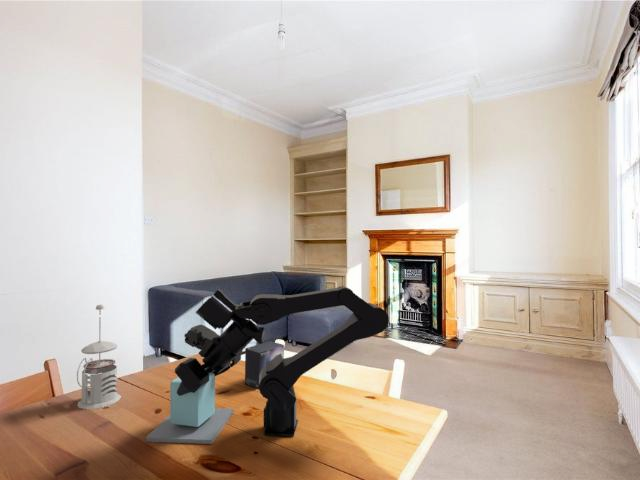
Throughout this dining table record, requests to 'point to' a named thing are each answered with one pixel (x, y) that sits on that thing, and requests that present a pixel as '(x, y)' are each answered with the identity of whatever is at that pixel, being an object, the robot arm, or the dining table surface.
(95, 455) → the dining table surface
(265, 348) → the small box
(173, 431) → the post board
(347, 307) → the robot arm
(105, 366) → the french press
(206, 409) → the pale blue cube block
